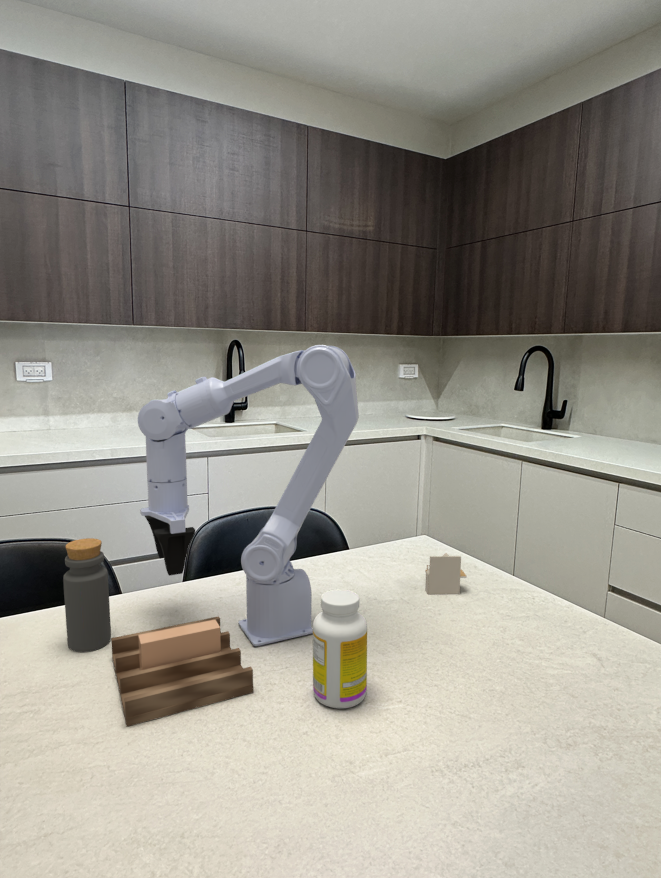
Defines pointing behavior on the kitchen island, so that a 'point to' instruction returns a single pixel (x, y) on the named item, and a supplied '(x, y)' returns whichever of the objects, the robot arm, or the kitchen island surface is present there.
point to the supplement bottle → (340, 650)
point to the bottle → (86, 596)
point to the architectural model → (444, 575)
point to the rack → (176, 679)
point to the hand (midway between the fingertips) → (170, 565)
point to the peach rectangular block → (178, 644)
